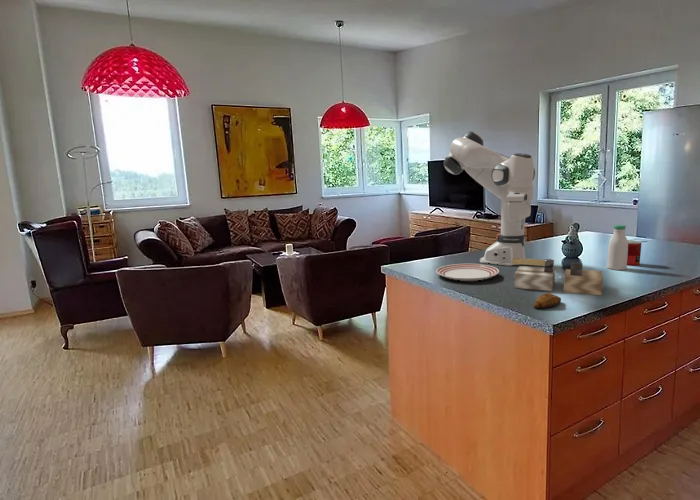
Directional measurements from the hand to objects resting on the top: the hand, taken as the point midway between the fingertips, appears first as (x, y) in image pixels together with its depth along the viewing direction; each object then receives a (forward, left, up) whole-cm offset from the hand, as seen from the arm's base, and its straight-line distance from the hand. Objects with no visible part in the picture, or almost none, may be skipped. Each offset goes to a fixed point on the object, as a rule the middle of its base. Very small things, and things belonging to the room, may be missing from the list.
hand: (519, 230), depth 181 cm
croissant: (+13, -23, -24) cm, 36 cm away
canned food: (+43, +58, -23) cm, 76 cm away
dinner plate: (-23, +10, -24) cm, 34 cm away
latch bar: (+5, +4, -15) cm, 16 cm away
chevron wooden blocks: (+15, +4, -23) cm, 28 cm away
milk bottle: (+37, +46, -23) cm, 63 cm away
